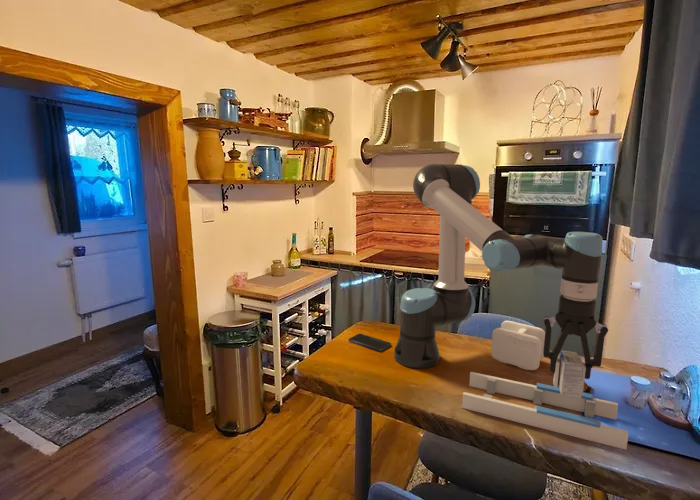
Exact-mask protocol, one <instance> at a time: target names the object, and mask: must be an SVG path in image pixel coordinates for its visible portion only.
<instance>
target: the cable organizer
mask: <svg viewBox="0 0 700 500" xmlns="http://www.w3.org/2000/svg"><path fill="white" fill-rule="evenodd" d="M544 339H545V330H544V329H543V328H541V327H537V326H533V325H529V324H525V323H521V322H517V321H512V320H504V321H503V322H501V324H500V327H496V328H494V329H493V331H492V334H491V345H490V346H491V348H490V355H491V357H492V358H493V359H495V360H496V361H498V362H499V363H503V364H509V365H512V366H514V367H515V366H516V367H518V368H520V369H523V370H525V371H536V370H538V368H539V367H540V363H541V362H540V361H541V360H542V359H543V358H544V355H543V349H544Z"/></svg>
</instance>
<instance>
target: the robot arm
mask: <svg viewBox="0 0 700 500" xmlns="http://www.w3.org/2000/svg"><path fill="white" fill-rule="evenodd" d="M412 183H413V184H412V187H413V192H414V195H415V197H416V198H417V200H418V201H419V202H420V203H422V205H423V206H425V207H426V208H429V209H433V210H434V211H436V213H438V214H439V238H438V239H439V244H438V245H439V246H438V279H437V280H436V281H435V282H434V283H433V289H432V288H429V287H422V288H421V287H418V288H417V287H415V288H412V289H411V288H410V289H408V290H406V291H405V292H404V293H403V294H402V296H401V298H400V299H401V300H400V306H399V308H400V317H399V318H400V323H399V328H400V329H399V336H398V340H397V343H396V344H395V348H394V350H393V351H394V354H393V358H394V359H395V361H396V362H397V363H398V364H399V365H402V366H405V367H408V368H414V369H428V368H432V367H435V366H437V365H438V364H439V362H440V351H439V346H438V344H437V340H436V327H441V326H446V325H447V326H448V325H451V324H458V323H461V322H463V321H466V320H467V321H468V319H470V318H471V317H472V316H473V314H474V311H475V309H476V299H475V296H473V295H474V293H473V292H472V291H471V290H470V289H469V284H468V283H467V282H466V281H465V267H466V266H465V265H466V263H465V261H466V239H467V240H468V241H469V242H471V243H472V244H473V245H474V246H475V247H476V248H477V249H479V251H481V258H482V261H483V262H484V266H486V268H488V269H489V270H491V271H494V272H509V271H513V270H514V271H515V270H519V269H527V268H534V267H541V266H543V267H550V268H554V269H560V270H561V280H560V291H559V293H560V294H561V295H560V296H559V301H558V310H557V313H556V314H555V316H551V317H549V316H544V317H543V323H544V326H545V330H544V331H545V339H544V349H543V355H544V356H543V358H548V359H549V360H550V361H549V371H550V373H554V374H553V381H552V385H553V384H554V387H557V384H558V374H559V365H560V361H559V358H558V356H559V353H560V351H561V350H562V348H563V346H564V344H565V342H566V339H567V338H568V336H569V335H570V336H571V335H575V336H578V337H580V341H581V342H580V343H581V348H582V353H583V358H584V362H583V364H584V366H585V368H584V377H583V387H582V392H583V389H584V382H585V380H590V378H591V375H592V374H591V372H592V368H593V367H601V366H602V359H603V350H604V343H605V336H607V333H608V332H609V329H608V326H607V324H603V323H602V324H601V323H599V322H597V321H596V319H595V315H596V305H597V301H596V300H595V299H597V298H598V297H597V296H598V287H599V286H598V285H599V278H600V277H599V276H600V270H601V262H602V256H603V239H604V238H603V236H602V235H600V234H599V233H597V232H588V231H587V232H585V231H570V232H567V233H566V235H565V238H559V237H553V236H546V235H542V234H531V233H530V234H525V235H524V236H523V237H517V238H515V237H513V236H512V235H511V234H509V233H508V232H506V230H503V229H502V228H501V227H500V226H499V225H497V223H495V222H494V221H492V220H491V219H490V218H488V217H487V216H486V215H484V214H483V213H482V212H481V211H480V210H478V209H477V208H476V207H474V206H473V205H472V203H473V202H472V200H473V199H476V197H477V196H478V194H480V193H479V192H480V189H481V181H480V177H479V174H478V172H477V171H475V168H473V167H472V166H469V165H464V164H458V163H457V164H452V163H451V164H450V163H449V164H445V163H444V164H442V163H441V164H440V163H431V164H427V165H425V166H423V167H422V168H420V169H419V170H418V171H417V173H416V174H415V176H414V178H413V182H412ZM555 323H557V325H558V326H559V327H560V331H559V334H558V337H557V339H556V341H555V344H554V346H553V348H552V351H550V348H551V339H552V327H554V326H555ZM593 328H595V332H596V336H595V346H594V355H593V358H591V354H590V353H591V352H590V349H589V343H588V336H587V334H588V333H589V332H590V331H591V330H592V329H593Z"/></svg>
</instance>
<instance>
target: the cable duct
mask: <svg viewBox="0 0 700 500" xmlns="http://www.w3.org/2000/svg"><path fill="white" fill-rule="evenodd" d="M468 385H469V387H473V388H477V389H481V390H485V391H486V393H484V394H483V395H477V394H476V393H471V392H465V391H463V392H462V404H461V408H462V409H465V410H469V411H472V412H477V413H481V414H485V415H488V416H493V417H496V418H499V419H503V420H508V421H510V422H511V421H513V422H515V423H519V424H523V425H524V424H525V425H527V426H530V427H531V426H532V427H536V428H540V429H543V430H546V431H551V432H555V433H559V434H563V435H567V436H571V437H575V438H577V439H582V440H587V441H590V442H594V443H598V444H603V445H604V446H605V445H606V446H610V447H613V448H617V449H621V450H626V451H627V447H628V442H629V431H628V430H626V429H621V428H617V427H612V426H609V425H605V424H602V422H601V421H600V420H598V419H594V417H595V416H597V417H603V418H607V419H611V420H615V421H617V417H618V409H619V404H618V402H615V401H610V400H605V399H601V398H596V397H594V396H593V394H592V393H584V392H582V396H581V398H580V399H579V398H573V397H566V396H562V395H561V393H560V390H559V388H558V387H554V386H552V385H549V384H545V383H542V382H541V383H540V382H536V385H535V384H531V383H526V382H522V381H515V380H511V379H507V378H504V377H503V378H501V377H498V376H492V375H489V374H484V373H483V374H482V373H479V372H475V371H470V373H469V384H468ZM495 393H498V394H503V395H507V396H510V397H511V396H512V397H516V398H520V399H525V400H529V401H532V404H534V406H533V407H529V406H525V405H520V404H516V403H511V402H508V401H503V400H498V399H494V398H493V395H495ZM542 404H547V405H551V406H556V407H558V408H563V409H567V410H568V409H569V410H572V411H577V412H581V413H583V414H584V416H582V415H578V414H574V413H569V412H567V411H566V412H564V411H561V410H557V409H553V408H552V409H551V408H548V407H544V406H542Z"/></svg>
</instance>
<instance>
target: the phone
mask: <svg viewBox="0 0 700 500" xmlns="http://www.w3.org/2000/svg"><path fill="white" fill-rule="evenodd" d="M348 343H351V344H354V345H357V346H360V347H363V348H365V349H368V350H372V351H374V352H378V353H382V352H384V351H385V350H387V349H389V348H391V347H392V343H391V342H390V341H386V340H383V339H379V338H376V337H374V336H370V335H368V334H364V333H357V334H355V335H353V336H351V337H350V338H348Z"/></svg>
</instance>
